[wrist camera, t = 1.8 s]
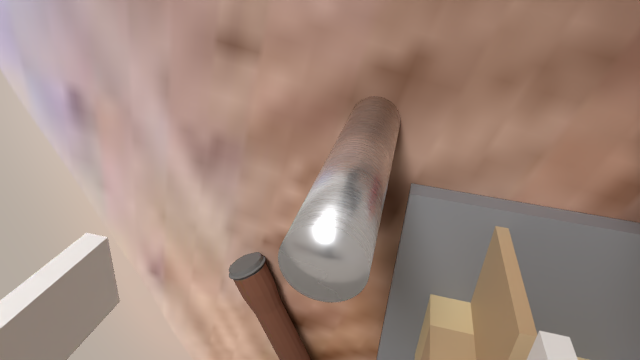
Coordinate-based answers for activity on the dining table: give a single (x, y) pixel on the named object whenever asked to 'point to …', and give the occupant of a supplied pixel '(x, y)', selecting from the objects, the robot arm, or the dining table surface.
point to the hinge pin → (343, 208)
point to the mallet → (267, 305)
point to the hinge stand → (509, 280)
